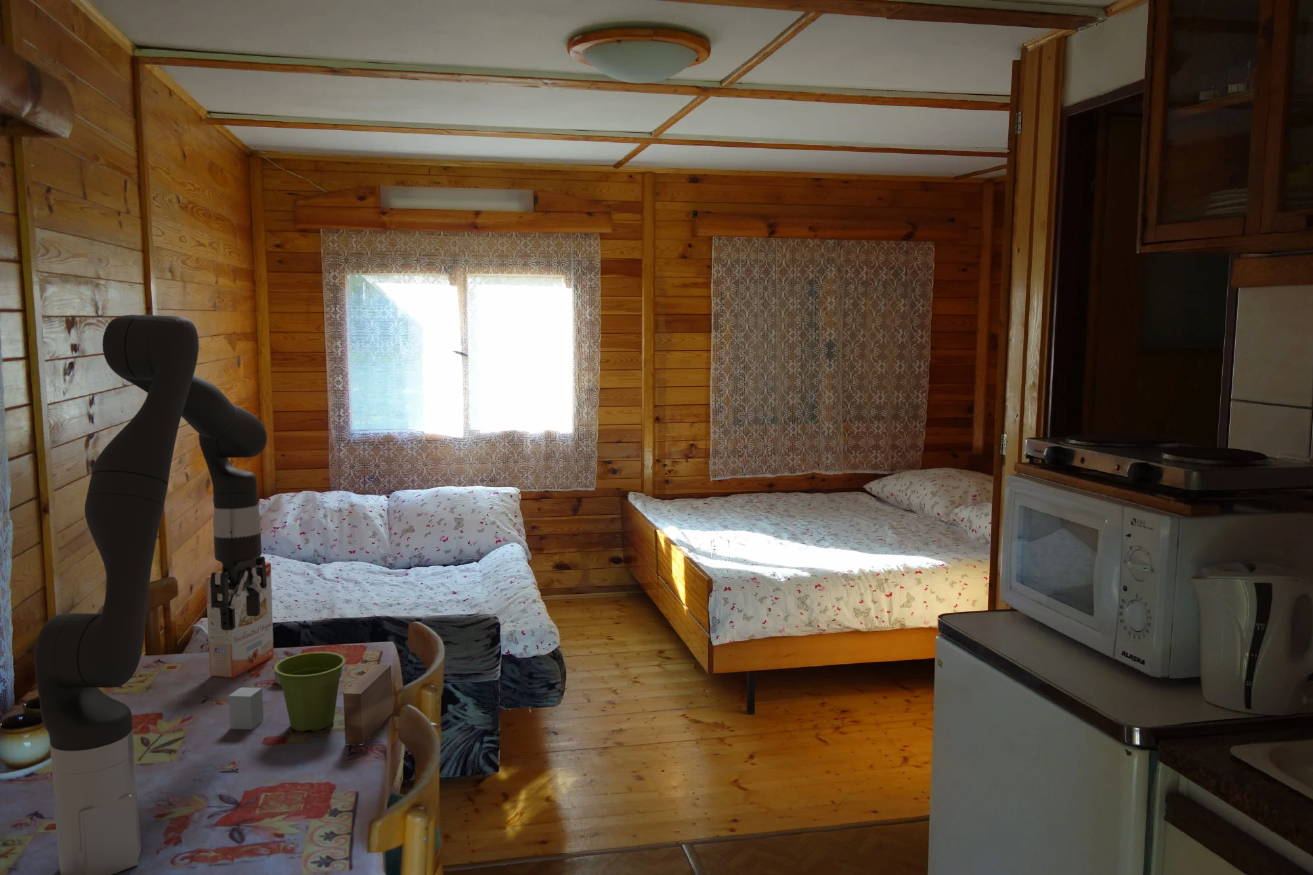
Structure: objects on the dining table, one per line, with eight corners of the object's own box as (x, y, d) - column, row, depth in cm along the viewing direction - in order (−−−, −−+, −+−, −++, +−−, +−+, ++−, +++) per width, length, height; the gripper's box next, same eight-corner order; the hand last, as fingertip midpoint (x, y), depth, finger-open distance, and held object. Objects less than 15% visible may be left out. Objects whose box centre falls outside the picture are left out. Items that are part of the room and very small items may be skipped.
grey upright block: (252, 729, 166) (250, 696, 165) (230, 728, 166) (228, 695, 166) (263, 720, 170) (261, 688, 169) (242, 719, 170) (240, 687, 170)
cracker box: (235, 679, 190) (229, 577, 188) (208, 677, 191) (203, 576, 189) (276, 656, 204) (272, 561, 201) (251, 654, 205) (246, 559, 203)
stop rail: (345, 744, 159) (343, 693, 158) (376, 711, 173) (375, 664, 172) (362, 745, 159) (360, 693, 158) (392, 712, 173) (391, 664, 172)
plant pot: (262, 735, 163) (259, 672, 162) (300, 709, 175) (297, 650, 173) (326, 740, 161) (323, 677, 160) (359, 713, 173) (357, 653, 171)
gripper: (236, 540, 157) (240, 635, 159) (277, 524, 171) (281, 611, 173) (193, 539, 158) (198, 634, 159) (238, 523, 172) (242, 610, 173)
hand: (241, 622), depth 166 cm, fingers open, 8 cm apart
